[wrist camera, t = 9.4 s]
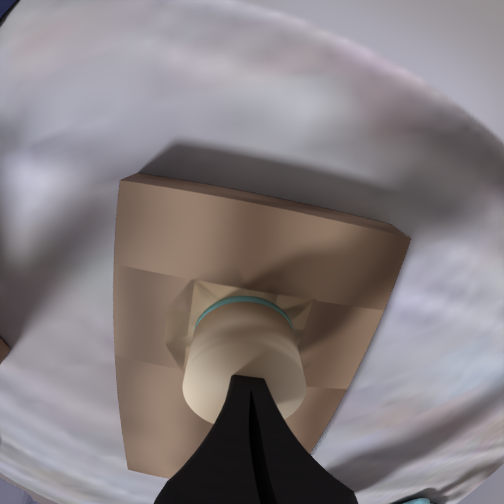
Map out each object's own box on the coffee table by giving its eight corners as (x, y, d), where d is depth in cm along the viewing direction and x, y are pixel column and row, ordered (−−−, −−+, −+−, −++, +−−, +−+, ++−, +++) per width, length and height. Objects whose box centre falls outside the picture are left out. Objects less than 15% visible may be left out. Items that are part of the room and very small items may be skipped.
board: (391, 224, 17) (410, 238, 15) (282, 469, 25) (285, 490, 23) (137, 172, 16) (119, 180, 13) (133, 448, 24) (128, 469, 21)
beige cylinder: (298, 282, 18) (322, 355, 12) (276, 354, 20) (287, 433, 14) (205, 265, 18) (188, 335, 11) (194, 341, 19) (179, 420, 13)
